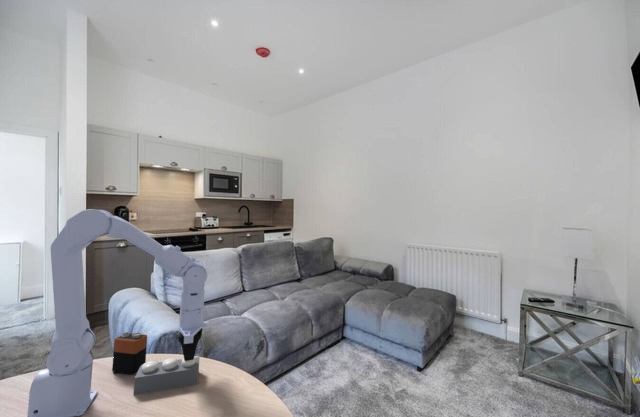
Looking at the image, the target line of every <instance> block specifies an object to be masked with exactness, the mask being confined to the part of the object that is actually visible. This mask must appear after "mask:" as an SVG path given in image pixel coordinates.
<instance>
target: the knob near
mask: <svg viewBox="0 0 640 417" xmlns="http://www.w3.org/2000/svg"><path fill="white" fill-rule="evenodd" d="M158 363H159V362H158V361H156V360H150V361H147V362H146V363H144V364H143V365H142V373H150V372H153V371H155V370H156V369H157V365H158Z"/></svg>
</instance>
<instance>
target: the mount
mask: <svg viewBox="0 0 640 417" xmlns="http://www.w3.org/2000/svg"><path fill="white" fill-rule="evenodd" d="M195 357H196V363H195V365H193V366H190V367H183V366H182V359H183V358H181V359H177V366H176V367H175V368H173V369H170V370H163V369H162V363H163V361H159V362H158V365H157V369H156V370H155V371H153V372H150V373H142V365H141V366H140V368H139V370H138V372H137V373H136V374H135V376H134V380H133V382H134V383H133V394H132V395H133V396H136V395H142V394H147V393H148V394H149V393H153V392H159V391H164V390H170V389H176V388H181V387H182V388H183V387H189V386H193V385H198V384H199V381H198V380H199V372H200V356H195Z"/></svg>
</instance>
